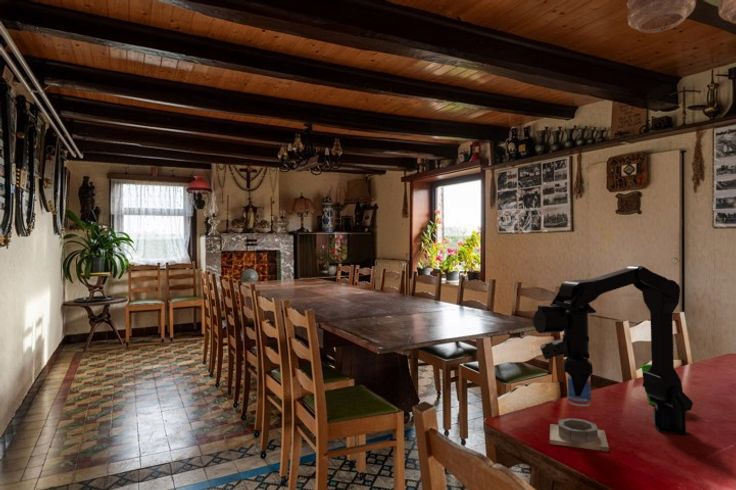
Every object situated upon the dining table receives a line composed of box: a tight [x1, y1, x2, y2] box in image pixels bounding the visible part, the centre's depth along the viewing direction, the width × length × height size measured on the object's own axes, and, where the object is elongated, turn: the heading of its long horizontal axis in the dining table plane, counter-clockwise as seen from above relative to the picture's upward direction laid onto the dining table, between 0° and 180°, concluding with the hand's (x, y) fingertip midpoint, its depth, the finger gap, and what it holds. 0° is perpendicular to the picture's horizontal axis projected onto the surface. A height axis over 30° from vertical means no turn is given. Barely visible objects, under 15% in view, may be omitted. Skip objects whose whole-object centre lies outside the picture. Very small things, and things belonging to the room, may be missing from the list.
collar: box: [549, 417, 610, 452], centre depth 118 cm, size 13×11×4 cm
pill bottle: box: [566, 373, 592, 407], centre depth 118 cm, size 6×5×10 cm
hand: (577, 392), depth 118 cm, fingers closed on pill bottle, 5 cm apart
